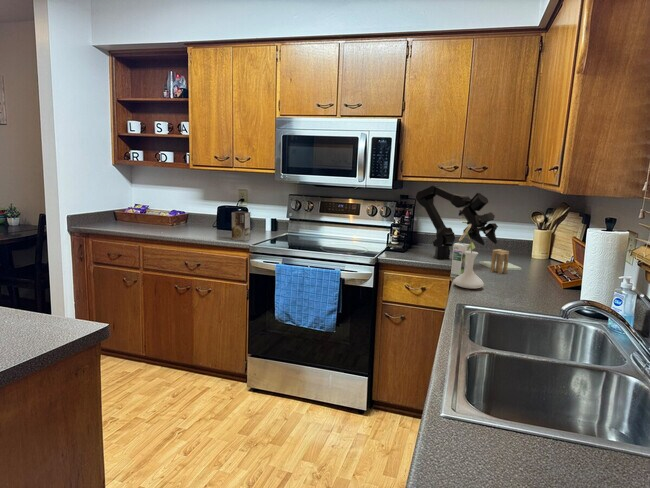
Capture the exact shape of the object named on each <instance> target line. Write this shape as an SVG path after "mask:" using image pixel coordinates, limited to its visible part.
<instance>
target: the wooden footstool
mask: <svg viewBox="0 0 650 488" xmlns="http://www.w3.org/2000/svg"><path fill="white" fill-rule="evenodd" d="M509 256H510V251H509V250H505V249H501V248H498V249H493V250H492V254H491V261H490V262H491V269H490V272H491V273H495V272H497V274H498V275H502V274H507V273H508V270H507V267H508V263H509V258H510V257H509ZM495 262H496V270H495ZM503 262H504V267H503ZM502 267H503V270H502Z"/></svg>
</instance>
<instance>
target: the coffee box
mask: <svg viewBox="0 0 650 488" xmlns="http://www.w3.org/2000/svg"><path fill="white" fill-rule="evenodd" d="M251 214H252V213H251V212H250V211H249V212H248V211H232V212H231V240H232V241H233V240H234V241H240V242H241V241H242V242H247V241H250V240H251Z"/></svg>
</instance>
